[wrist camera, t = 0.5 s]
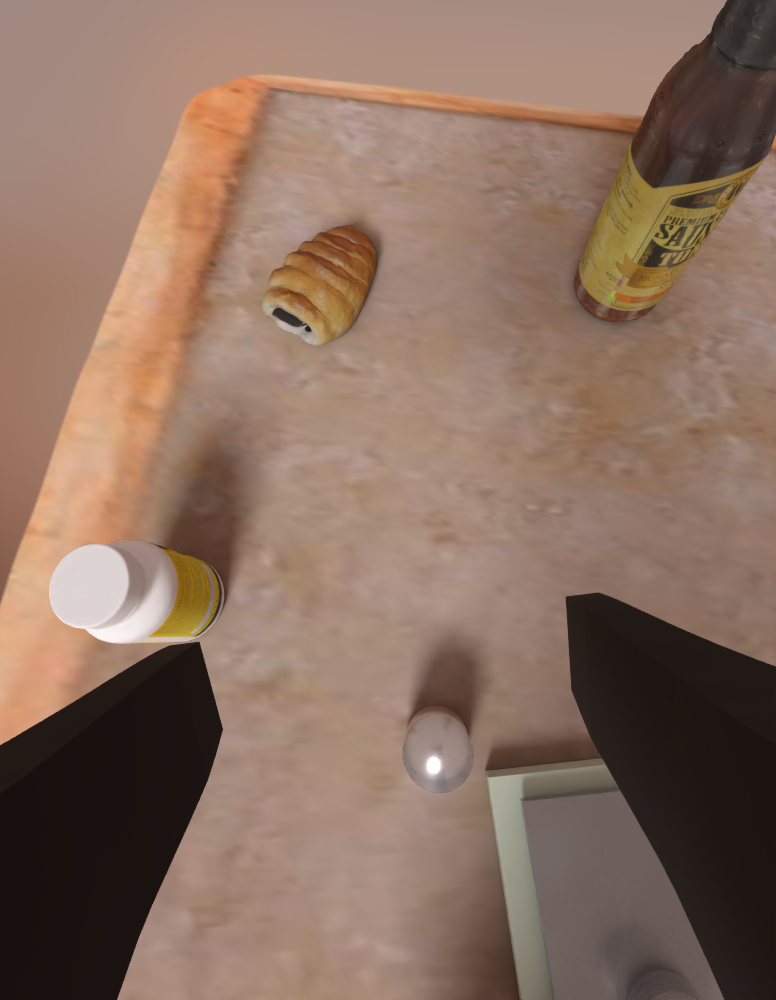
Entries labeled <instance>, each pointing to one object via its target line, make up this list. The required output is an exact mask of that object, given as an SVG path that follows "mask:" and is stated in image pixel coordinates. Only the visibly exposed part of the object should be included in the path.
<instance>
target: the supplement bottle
mask: <svg viewBox="0 0 776 1000" xmlns="http://www.w3.org/2000/svg"><path fill="white" fill-rule="evenodd" d="M49 599H50V604H51V607H52V609H53V611H54V613H55V614H56V615H57V616H58V618H59V619H60V620H61V621H63V622H64V623H66V624H67V625H70V626H72V627H76V628H83V629H86V630H87V631H88V632H89V633H90V634H91V635H93V636H94V637H96V638H98V639H100V640H103V641H106V642H110V643H156V642H182V641H188V640H192V639H195V638H197V637H199V636H201V635H202V634H204V633H205V632H207V631H208V630H209V629H210V628H211V627H212V626H213V625H214V623H215V622H216V621H217V619H218V617H219V615H220V613H221V611H222V608H223V603H224V587H223V583H222V581H221V578H220V576H219V574H218V573H217V571H216V570H215V569H214V568H213V567H212V566H211V565H210V564H208V563H207V562H205V561H203V560H201V559H199V558H196V557H193V556H190V555H187V554H184V553H180V552H177V551H174V550H171V549H168V548H164V547H161V546H158V545H156V544H153V543H149V542H145V541H140V540H123V541H118V542H115V543H112V544H109V545H107V544H101V543H92V544H86V545H83V546H80V547H78V548H76V549H74V550H73V551H71V552H70V553H68V554H67V555H66V556H65V557H64V558H63V559H62V560H61V561H60V562H59V564H58V565H57V567H56V569H55V570H54V572H53V575H52V578H51V581H50V586H49Z"/></svg>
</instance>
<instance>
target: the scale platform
mask: <svg viewBox="0 0 776 1000" xmlns="http://www.w3.org/2000/svg"><path fill="white" fill-rule="evenodd" d="M520 801H521V807H522V813H523V819H524V825H525V831H526V837H527V843H528V849H529V855H530V861H531V867H532V873H533V879H534V885H535V891H536V897H537V903H538V909H539V915H540V921H541V927H542V933H543V938H544V944H545V950H546V956H547V962H548V968H549V974H550V980H551V986H552V992H553V998H554V1000H628V995H629V992H630V990H631V988H632V986H633V984H634V983H635V981H636V980H637V979H638V978H639V977H640V976H642V975H643V974H645V973H647V972H649V971H652V970H668V971H671V972H674V973H676V974H678V975H680V976H682V977H683V978H684V979H686V980H687V981H688V982H689V983H690V984H691V985H692V986H693V987H694V988H695V990H696V991H697V992H698V994H699V995H700V996H701V998H702V999H703V1000H724V998H723V996H722V994H721V991H720V989H719V987H718V984H717V982H716V980H715V977H714V975H713V973H712V971H711V968H710V966H709V964H708V962H707V959H706V957H705V955H704V953H703V951H702V948H701V946H700V944H699V942H698V940H697V937H696V935H695V933H694V931H693V929H692V926H691V924H690V922H689V920H688V918H687V915H686V913H685V911H684V909H683V907H682V904H681V902H680V900H679V898H678V896H677V893H676V891H675V889H674V887H673V885H672V883H671V881H670V880H669V878H668V876H667V874H666V872H665V870H664V868H663V866H662V864H661V862H660V860H659V858H658V856H657V855H656V853H655V851H654V849H653V848H652V846H651V844H650V842H649V841H648V839H647V837H646V835H645V833H644V832H643V830H642V828H641V826H640V825H639V823H638V821H637V819H636V817H635V816H634V814H633V812H632V810H631V809H630V807H629V805H628V803H627V802H626V800H625V798H624V796H623V794H622V793H621V791H620V789H619V787H618V788H608V789H599V790H590V791H581V792H571V793H562V794H553V795H543V796H534V797H525V798H520Z"/></svg>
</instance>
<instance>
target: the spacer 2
mask: <svg viewBox="0 0 776 1000" xmlns="http://www.w3.org/2000/svg"><path fill="white" fill-rule="evenodd" d="M628 1000H703V999H702V998H701V996H700V995H699V994H698V992H697V991H696V990H695V988H694V987H693V986H692V985H691V984H690V983H689V982H688V981H687V980H686V979H684V978H683V977H682V976H680V975H678V974H676V973H674V972H671V971H668V970H652V971H649V972H647V973H645V974H643V975H642V976H640V977H639V978H638V979H637V980H636V981H635V983H634V984H633V986H632V988H631V990H630V992H629V995H628Z"/></svg>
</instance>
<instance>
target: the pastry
mask: <svg viewBox="0 0 776 1000" xmlns="http://www.w3.org/2000/svg"><path fill="white" fill-rule="evenodd" d="M375 269H376V252H375V249H374V246H373V244H372V241H371V239H370V238H369V237H367V236H366V235H365V234H364V233H362V232H360V231H359V230H358V229H357V228H356V227H355V226H353V225H347V226H343V227H340V226H339V227H336V228H333V229H331V230H329V231H327V232H325V233H322V232H321V233H318V234H317V235H316V236H315V238H314V239H313V240H312V241H305V242H303V243H302V244H301V246H300V248H299V250H298V251H296V252H293V253H291V254H288V255H287V256H286V259H285V264H284V267H283V268H280V269H276V270H274V271H273V272H272V274H271V276H270V278H269V286H268V291H267V292H266V293H265V295H264V300H263V301H262V302H261V308H262V310H263V313H264V314H265V315H266V316H268V317H270V318H271V319H272V320H274V321H276V324H277V325H278V326H279V327H280V328H282V329H283V330H285V331H289V332H291V333H293V334H297V335H300V336H301V338H302V339H303V340H304V341H305V342H307V343H309V344H311V345H313V346H319V345H324V344H326V343H329V342H331V341H333V340H334V339H336V338H339V337H340V336H342V335H344V334H345V333H346V332H347V331H348V330H349V329H350V327H351V326H352V324H353V323H354V322H355V321H356V319H357V317H358V314H359V312H360V311H361V308H362V306H363V304H364V302H365V299H366V296H367V294H368V291H369V288H370V285H371V282H372V279H373V276H374V273H375Z"/></svg>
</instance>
